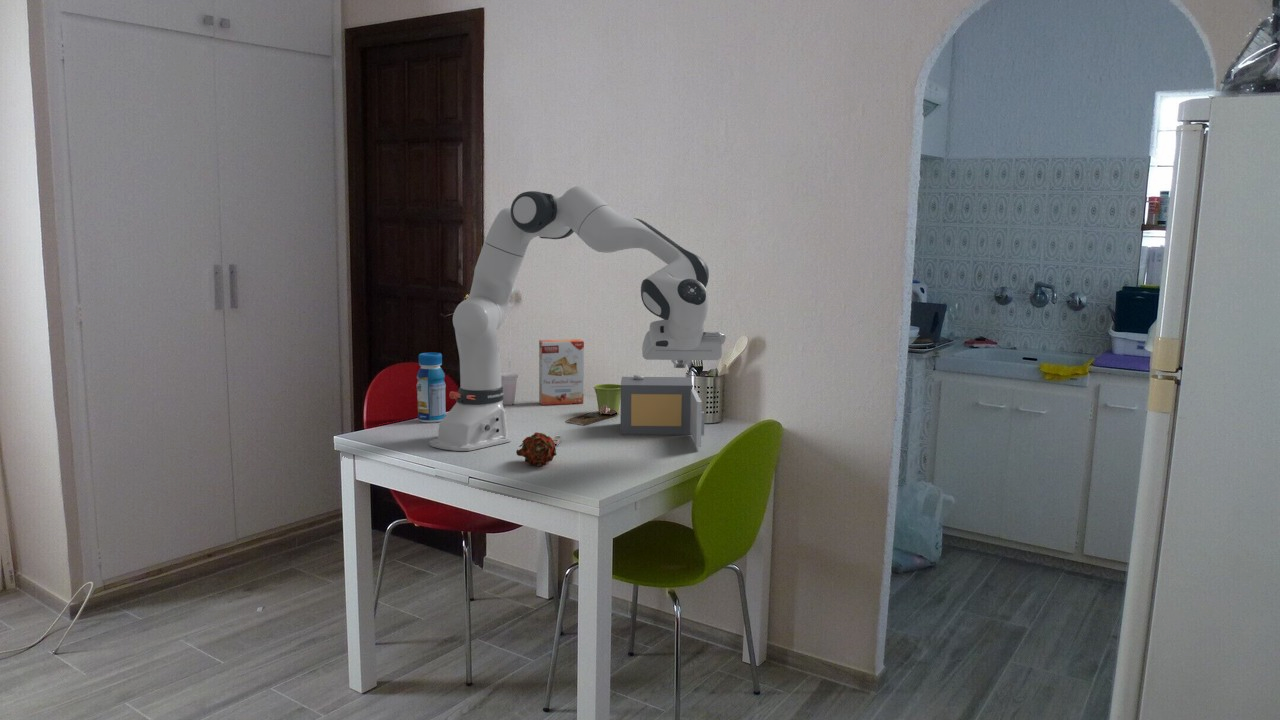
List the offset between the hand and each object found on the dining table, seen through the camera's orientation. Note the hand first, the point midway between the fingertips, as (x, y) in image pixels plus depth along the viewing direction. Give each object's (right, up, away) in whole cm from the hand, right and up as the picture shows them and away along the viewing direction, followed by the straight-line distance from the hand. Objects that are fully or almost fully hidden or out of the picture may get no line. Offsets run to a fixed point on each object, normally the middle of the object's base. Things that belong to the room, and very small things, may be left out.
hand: (679, 366), depth 240 cm
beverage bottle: (-72, -17, +36) cm, 82 cm away
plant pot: (-20, -15, +47) cm, 53 cm away
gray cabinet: (-6, -18, +26) cm, 32 cm away
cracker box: (-36, -13, +63) cm, 74 cm away
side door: (+5, -20, +9) cm, 23 cm away
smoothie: (-53, -13, +61) cm, 82 cm away
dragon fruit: (-36, -24, -13) cm, 45 cm away
